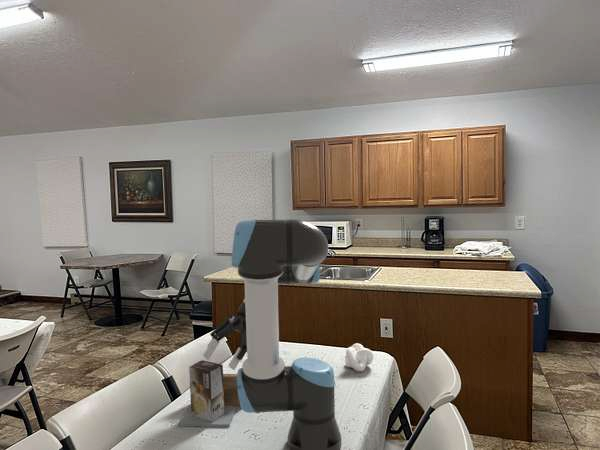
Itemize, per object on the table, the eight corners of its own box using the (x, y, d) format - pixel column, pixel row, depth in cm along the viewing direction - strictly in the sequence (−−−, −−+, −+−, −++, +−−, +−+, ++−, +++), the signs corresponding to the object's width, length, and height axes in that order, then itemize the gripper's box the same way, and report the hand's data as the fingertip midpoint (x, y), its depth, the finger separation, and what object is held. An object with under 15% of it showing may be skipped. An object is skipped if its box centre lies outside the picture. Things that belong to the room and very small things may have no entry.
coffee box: (225, 413, 133) (224, 364, 132) (212, 422, 128) (210, 371, 127) (203, 407, 138) (202, 359, 137) (189, 415, 132) (188, 366, 131)
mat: (229, 426, 127) (229, 424, 126) (177, 426, 127) (177, 424, 127) (236, 409, 138) (236, 406, 137) (188, 408, 138) (188, 406, 138)
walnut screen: (248, 405, 140) (247, 376, 139) (192, 405, 141) (191, 376, 140) (249, 402, 142) (248, 373, 141) (194, 402, 143) (193, 373, 142)
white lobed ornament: (365, 376, 161) (365, 354, 161) (337, 370, 167) (337, 348, 167) (376, 366, 171) (375, 345, 170) (349, 361, 177) (349, 340, 177)
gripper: (282, 319, 139) (249, 378, 128) (235, 308, 155) (202, 359, 145) (271, 307, 135) (235, 366, 124) (223, 296, 151) (188, 348, 141)
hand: (217, 362), depth 135 cm, fingers open, 13 cm apart
